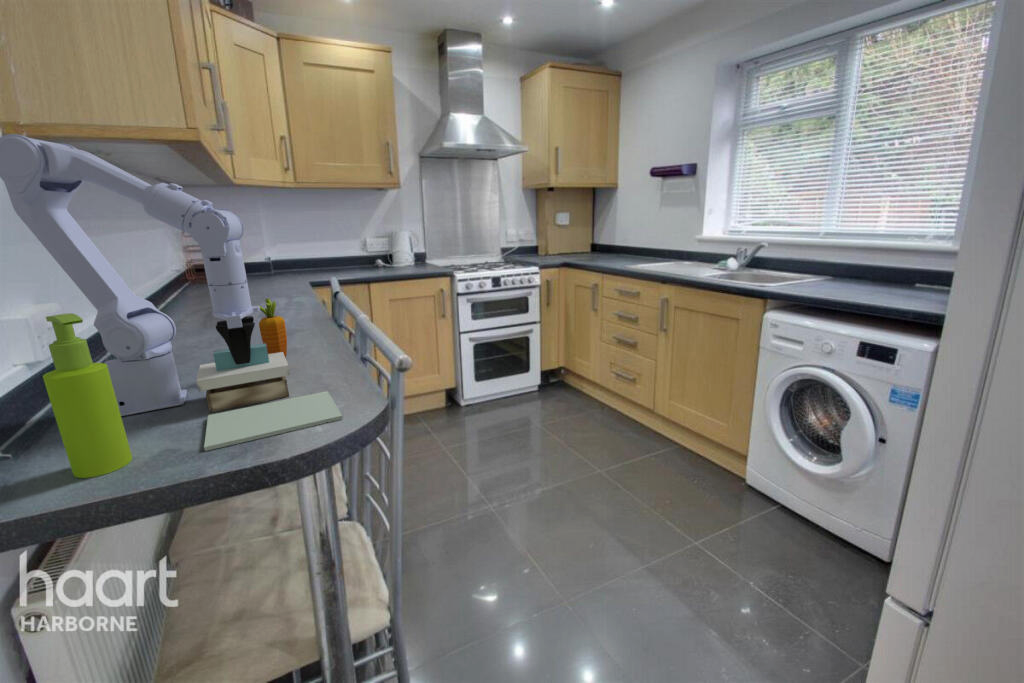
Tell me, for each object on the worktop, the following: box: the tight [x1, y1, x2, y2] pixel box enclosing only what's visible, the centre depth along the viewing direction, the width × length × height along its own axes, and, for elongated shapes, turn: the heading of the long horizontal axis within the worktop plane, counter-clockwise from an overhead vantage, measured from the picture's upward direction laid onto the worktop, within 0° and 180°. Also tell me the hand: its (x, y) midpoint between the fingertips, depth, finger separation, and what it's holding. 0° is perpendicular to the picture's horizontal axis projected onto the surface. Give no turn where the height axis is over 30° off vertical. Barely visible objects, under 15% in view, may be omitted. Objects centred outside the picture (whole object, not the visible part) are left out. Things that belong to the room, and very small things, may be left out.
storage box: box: [205, 376, 290, 413], centre depth 83 cm, size 12×9×3 cm
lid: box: [196, 343, 291, 392], centre depth 82 cm, size 13×10×5 cm
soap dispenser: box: [42, 313, 133, 479], centre depth 58 cm, size 6×7×20 cm
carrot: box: [258, 298, 288, 358], centre depth 96 cm, size 5×5×15 cm
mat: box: [203, 390, 343, 452], centre depth 73 cm, size 18×13×1 cm
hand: (242, 361), depth 82 cm, fingers closed on lid, 2 cm apart
